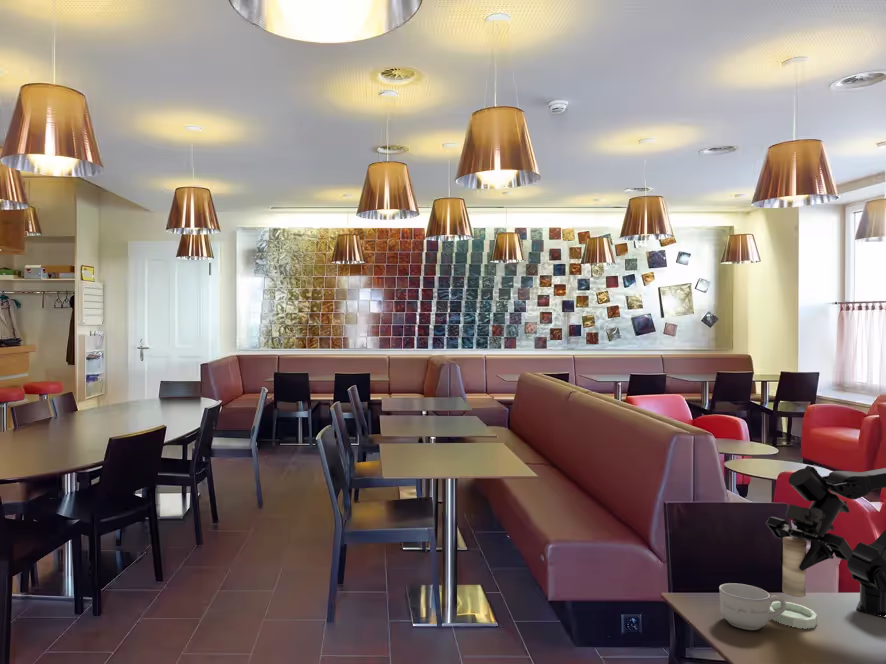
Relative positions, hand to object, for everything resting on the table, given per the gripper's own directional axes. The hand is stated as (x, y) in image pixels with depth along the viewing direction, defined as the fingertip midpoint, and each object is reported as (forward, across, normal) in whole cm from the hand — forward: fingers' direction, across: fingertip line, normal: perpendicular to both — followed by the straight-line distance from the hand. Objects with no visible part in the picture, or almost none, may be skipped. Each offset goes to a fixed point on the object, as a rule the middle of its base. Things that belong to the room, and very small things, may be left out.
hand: (790, 565), depth 146 cm
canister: (+4, 0, +6) cm, 7 cm away
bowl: (+8, 0, +10) cm, 13 cm away
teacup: (+17, -2, +2) cm, 17 cm away
